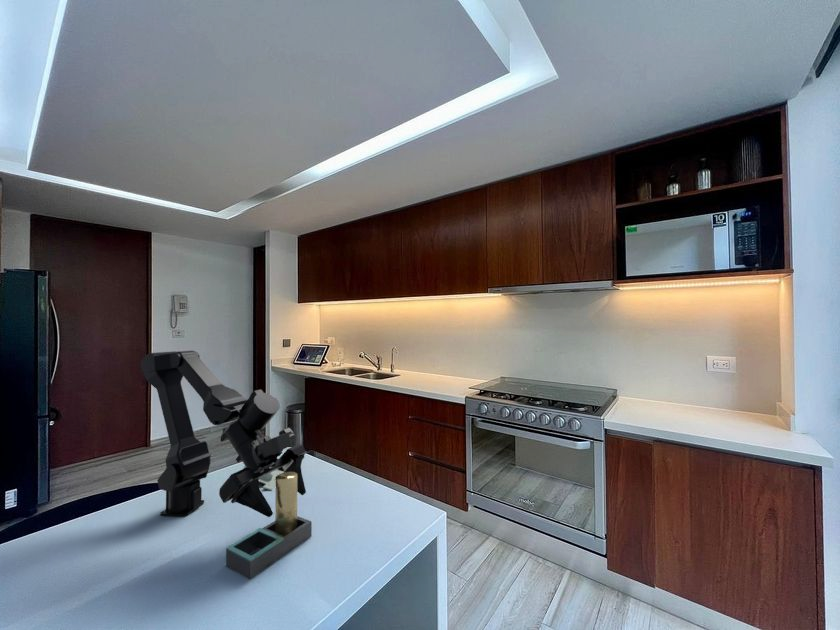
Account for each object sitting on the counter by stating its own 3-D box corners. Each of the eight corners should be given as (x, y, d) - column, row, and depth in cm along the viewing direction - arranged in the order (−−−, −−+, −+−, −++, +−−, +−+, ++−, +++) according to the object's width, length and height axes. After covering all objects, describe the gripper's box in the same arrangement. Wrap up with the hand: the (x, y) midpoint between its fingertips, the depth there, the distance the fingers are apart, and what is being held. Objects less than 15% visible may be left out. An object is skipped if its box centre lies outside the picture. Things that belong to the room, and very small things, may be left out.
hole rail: (250, 579, 59) (250, 560, 59) (225, 566, 63) (226, 547, 63) (311, 536, 72) (311, 519, 72) (288, 526, 75) (288, 511, 75)
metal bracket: (230, 468, 93) (261, 448, 108) (224, 489, 93) (256, 466, 108) (278, 485, 91) (303, 463, 106) (272, 506, 91) (298, 481, 106)
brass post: (271, 546, 68) (271, 480, 69) (281, 533, 72) (281, 471, 73) (291, 547, 68) (292, 480, 68) (300, 534, 72) (300, 472, 73)
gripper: (230, 432, 64) (274, 502, 60) (300, 409, 81) (339, 463, 77) (201, 468, 67) (241, 538, 62) (275, 439, 84) (311, 492, 80)
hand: (288, 504), depth 70 cm, fingers open, 9 cm apart
